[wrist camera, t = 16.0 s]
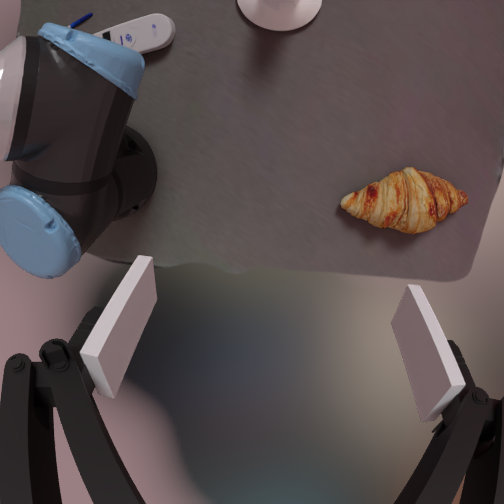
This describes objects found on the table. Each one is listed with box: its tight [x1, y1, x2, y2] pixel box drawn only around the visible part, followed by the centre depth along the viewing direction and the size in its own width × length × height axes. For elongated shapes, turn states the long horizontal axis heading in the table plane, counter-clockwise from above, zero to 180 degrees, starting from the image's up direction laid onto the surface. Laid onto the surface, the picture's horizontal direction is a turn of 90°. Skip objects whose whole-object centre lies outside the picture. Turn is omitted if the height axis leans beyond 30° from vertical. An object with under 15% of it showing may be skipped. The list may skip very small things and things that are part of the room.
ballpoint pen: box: [68, 13, 93, 28], centre depth 34 cm, size 10×1×1 cm, turn 107°
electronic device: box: [93, 14, 175, 54], centre depth 32 cm, size 5×10×15 cm
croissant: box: [340, 167, 468, 234], centre depth 43 cm, size 21×10×8 cm, turn 100°
